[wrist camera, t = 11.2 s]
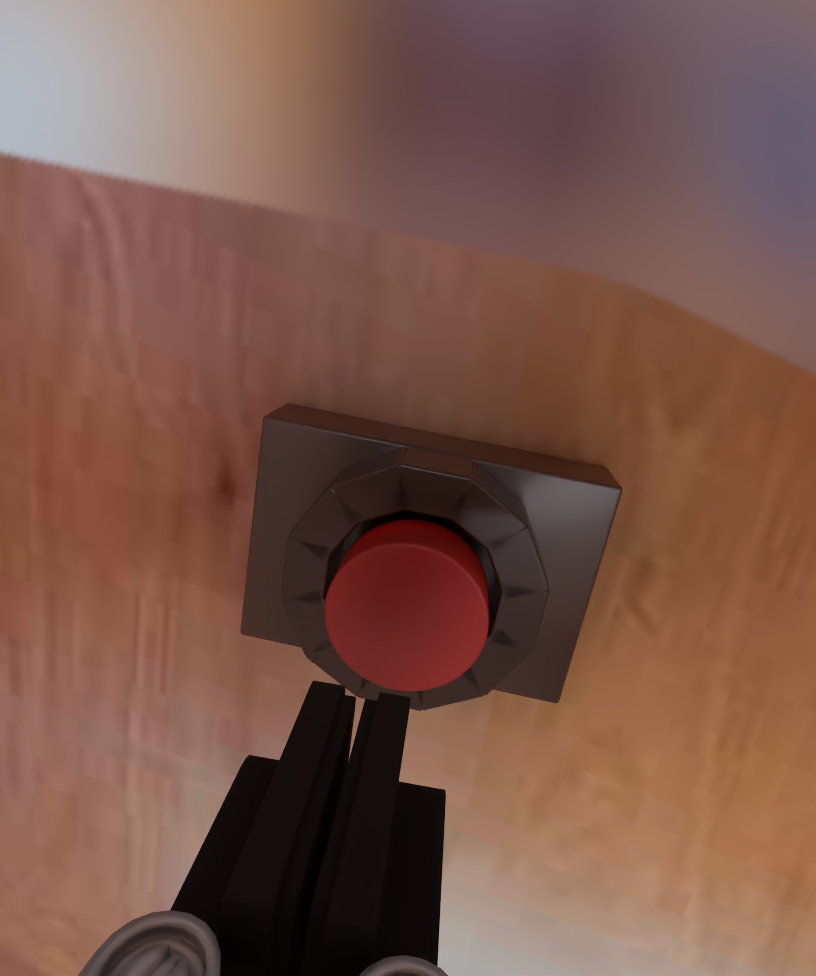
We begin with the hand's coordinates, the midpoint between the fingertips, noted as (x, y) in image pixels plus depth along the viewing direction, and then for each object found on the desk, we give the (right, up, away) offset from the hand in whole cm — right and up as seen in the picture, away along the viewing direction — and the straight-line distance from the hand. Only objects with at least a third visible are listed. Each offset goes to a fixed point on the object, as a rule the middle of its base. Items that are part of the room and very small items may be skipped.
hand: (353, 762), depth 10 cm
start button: (+1, +2, +6) cm, 7 cm away
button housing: (+1, +3, +10) cm, 10 cm away
